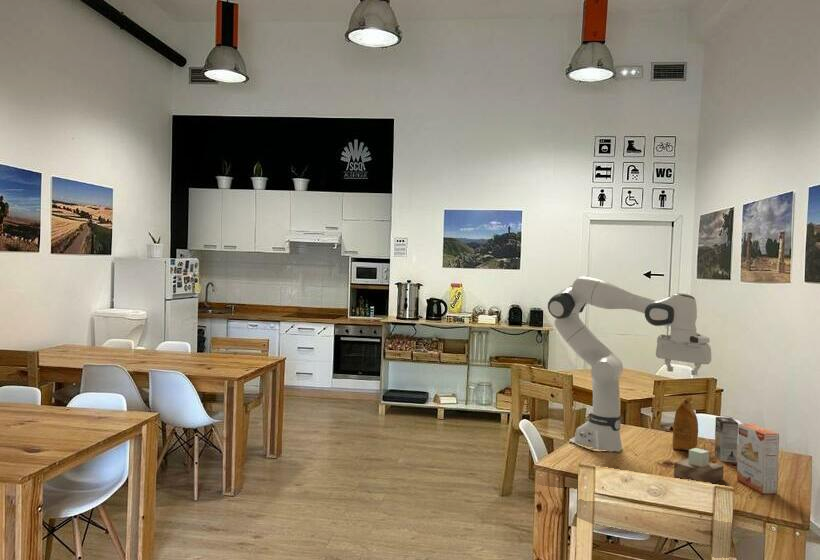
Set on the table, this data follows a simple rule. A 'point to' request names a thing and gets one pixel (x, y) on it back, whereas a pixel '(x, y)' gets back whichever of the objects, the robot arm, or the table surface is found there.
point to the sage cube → (698, 457)
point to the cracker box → (758, 458)
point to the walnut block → (698, 471)
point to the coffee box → (726, 439)
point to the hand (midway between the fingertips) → (682, 373)
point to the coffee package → (685, 427)
